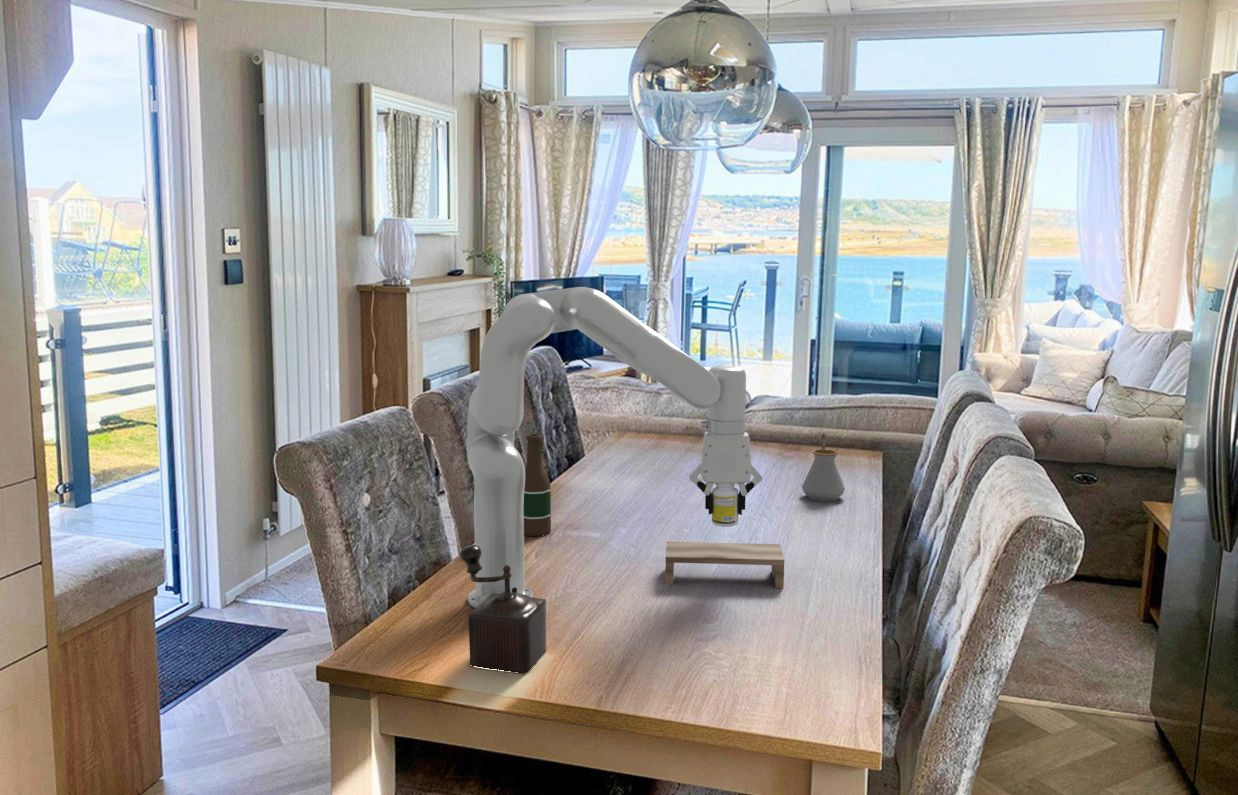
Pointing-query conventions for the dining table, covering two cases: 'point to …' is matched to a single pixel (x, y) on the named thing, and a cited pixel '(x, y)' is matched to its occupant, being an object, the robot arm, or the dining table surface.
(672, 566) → the wooden shelf
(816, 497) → the coffee pot
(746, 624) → the dining table surface
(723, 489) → the supplement bottle
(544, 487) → the beer bottle
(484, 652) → the manual coffee grinder
